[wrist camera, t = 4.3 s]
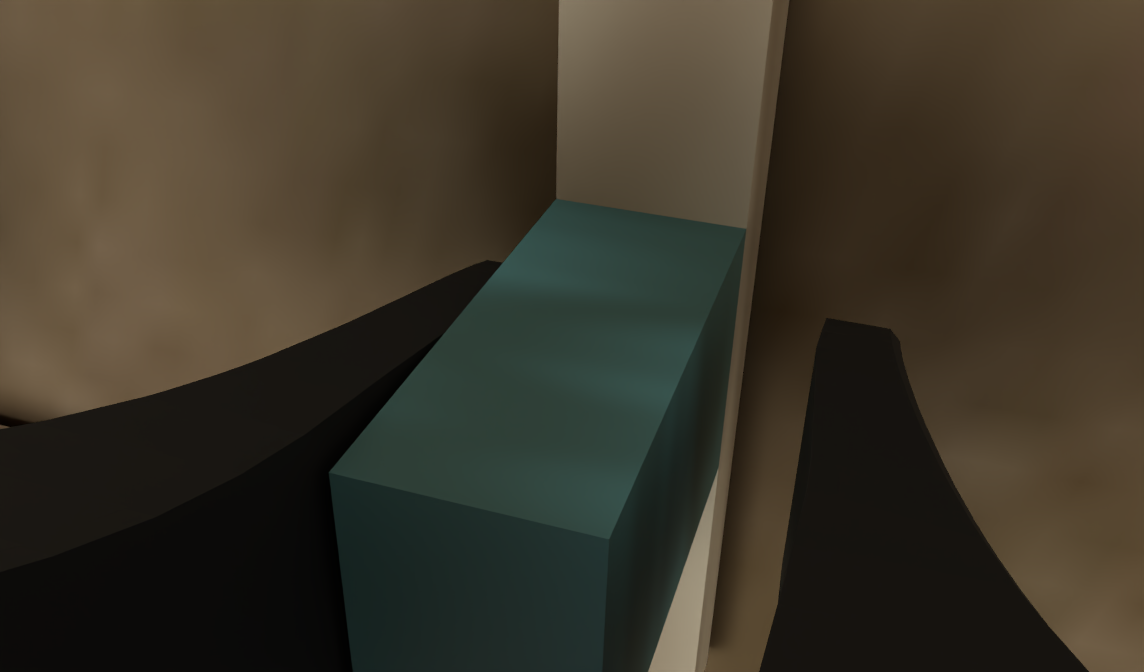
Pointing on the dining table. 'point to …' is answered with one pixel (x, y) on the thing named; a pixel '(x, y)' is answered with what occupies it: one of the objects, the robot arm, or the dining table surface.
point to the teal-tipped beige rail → (583, 377)
